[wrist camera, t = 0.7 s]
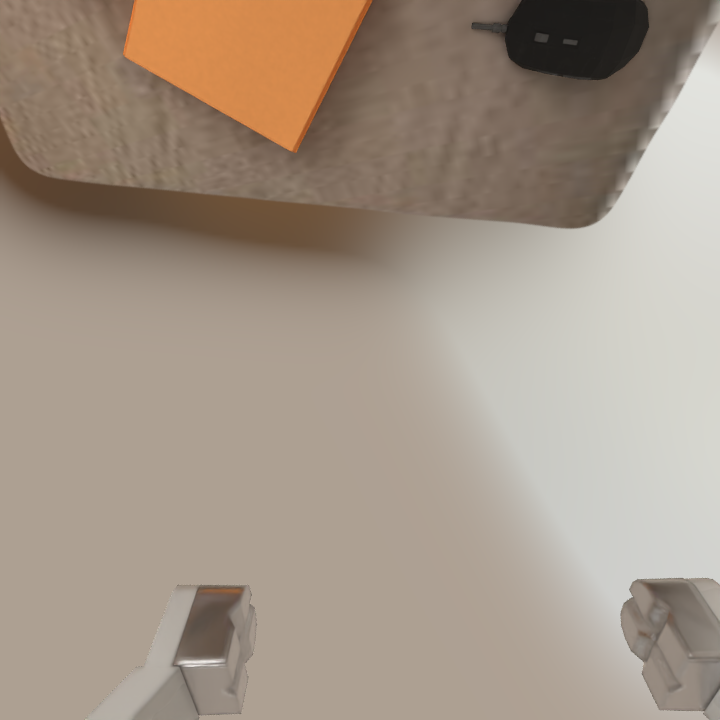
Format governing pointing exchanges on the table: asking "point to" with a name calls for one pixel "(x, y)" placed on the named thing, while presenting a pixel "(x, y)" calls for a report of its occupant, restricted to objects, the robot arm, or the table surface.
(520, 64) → the gaming mouse
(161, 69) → the folded cloth
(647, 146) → the table surface
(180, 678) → the robot arm
